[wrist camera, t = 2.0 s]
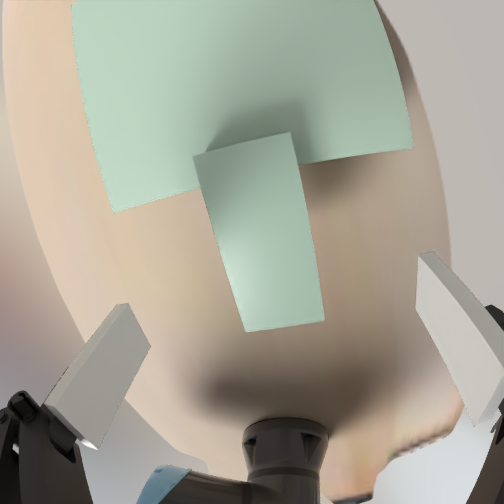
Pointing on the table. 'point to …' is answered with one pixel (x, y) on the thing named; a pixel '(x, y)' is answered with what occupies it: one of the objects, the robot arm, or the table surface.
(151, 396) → the table surface
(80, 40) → the lid
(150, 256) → the table surface
